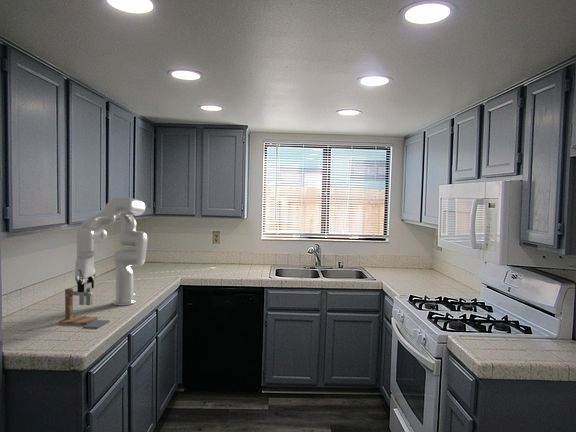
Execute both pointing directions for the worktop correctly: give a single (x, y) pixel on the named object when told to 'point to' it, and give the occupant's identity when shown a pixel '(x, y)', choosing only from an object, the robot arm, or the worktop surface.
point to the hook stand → (69, 310)
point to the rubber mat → (96, 324)
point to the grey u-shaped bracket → (82, 295)
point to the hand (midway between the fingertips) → (85, 289)
